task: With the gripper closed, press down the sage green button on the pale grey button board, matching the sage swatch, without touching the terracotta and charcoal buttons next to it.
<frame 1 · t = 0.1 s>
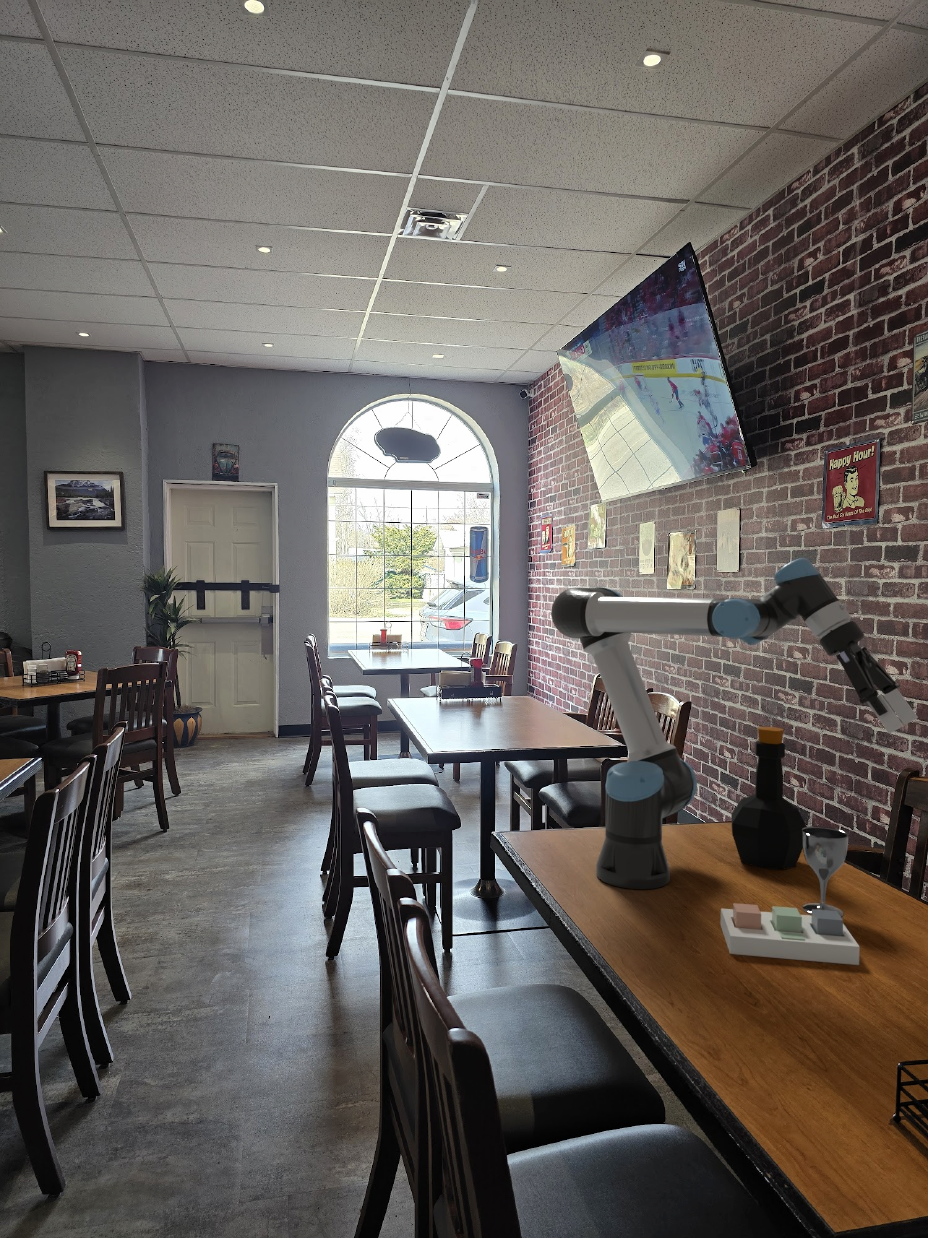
hand: (904, 725, 150), 36 cm above the table, tool tilted 35°, fingers open, 13 cm apart
sage button: (786, 920, 139), point 4 cm above the table, slide at 0.0 cm
bottle: (767, 862, 182), on the table
charcoal button: (826, 924, 138), point 4 cm above the table, slide at 0.0 cm
terracotta button: (746, 917, 140), point 4 cm above the table, slide at 0.0 cm
button board: (785, 944, 139), on the table
wine glass: (822, 911, 154), on the table
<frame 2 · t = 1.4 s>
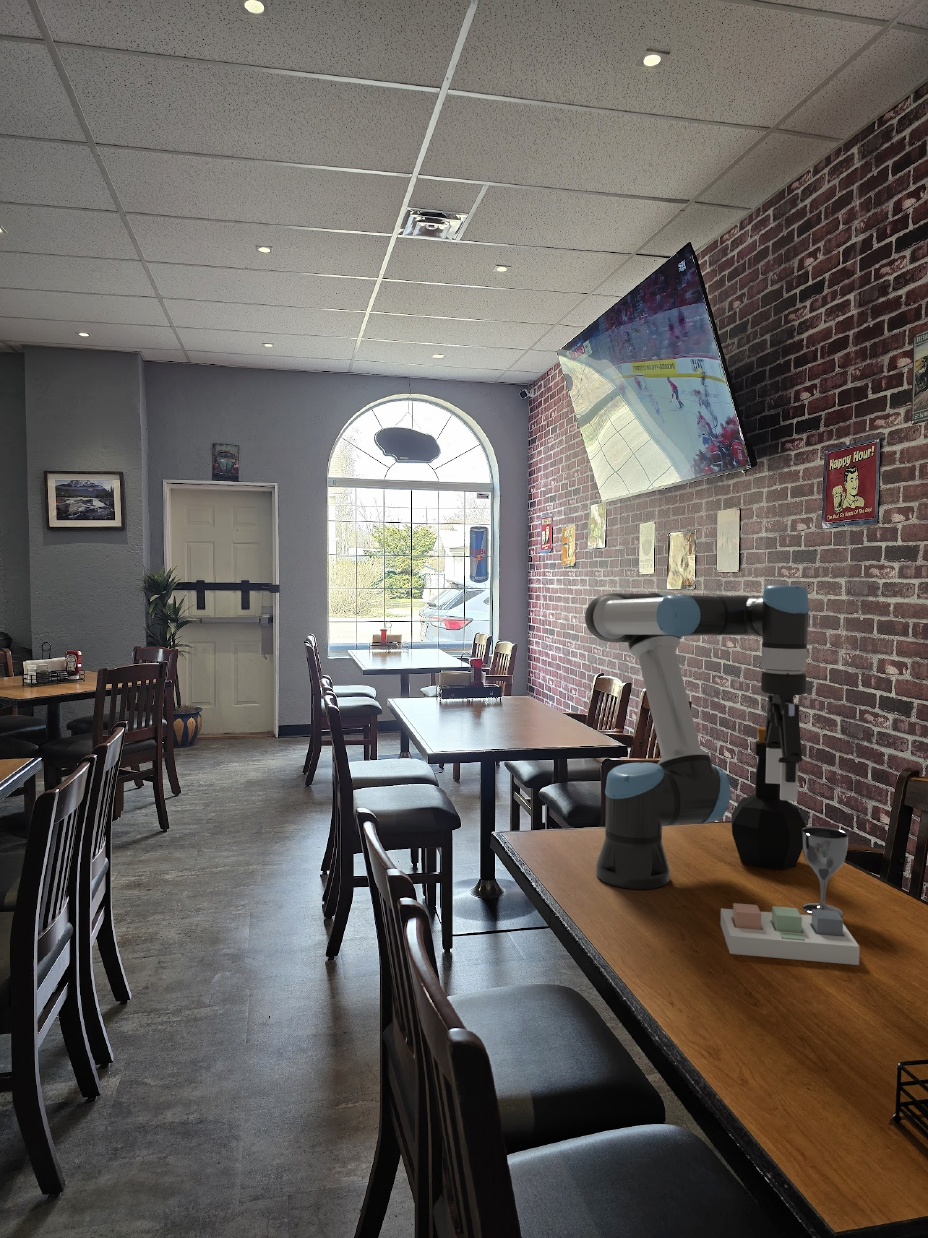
hand: (780, 791, 146), 24 cm above the table, tool pointing down, fingers open, 12 cm apart
nothing on the table moved.
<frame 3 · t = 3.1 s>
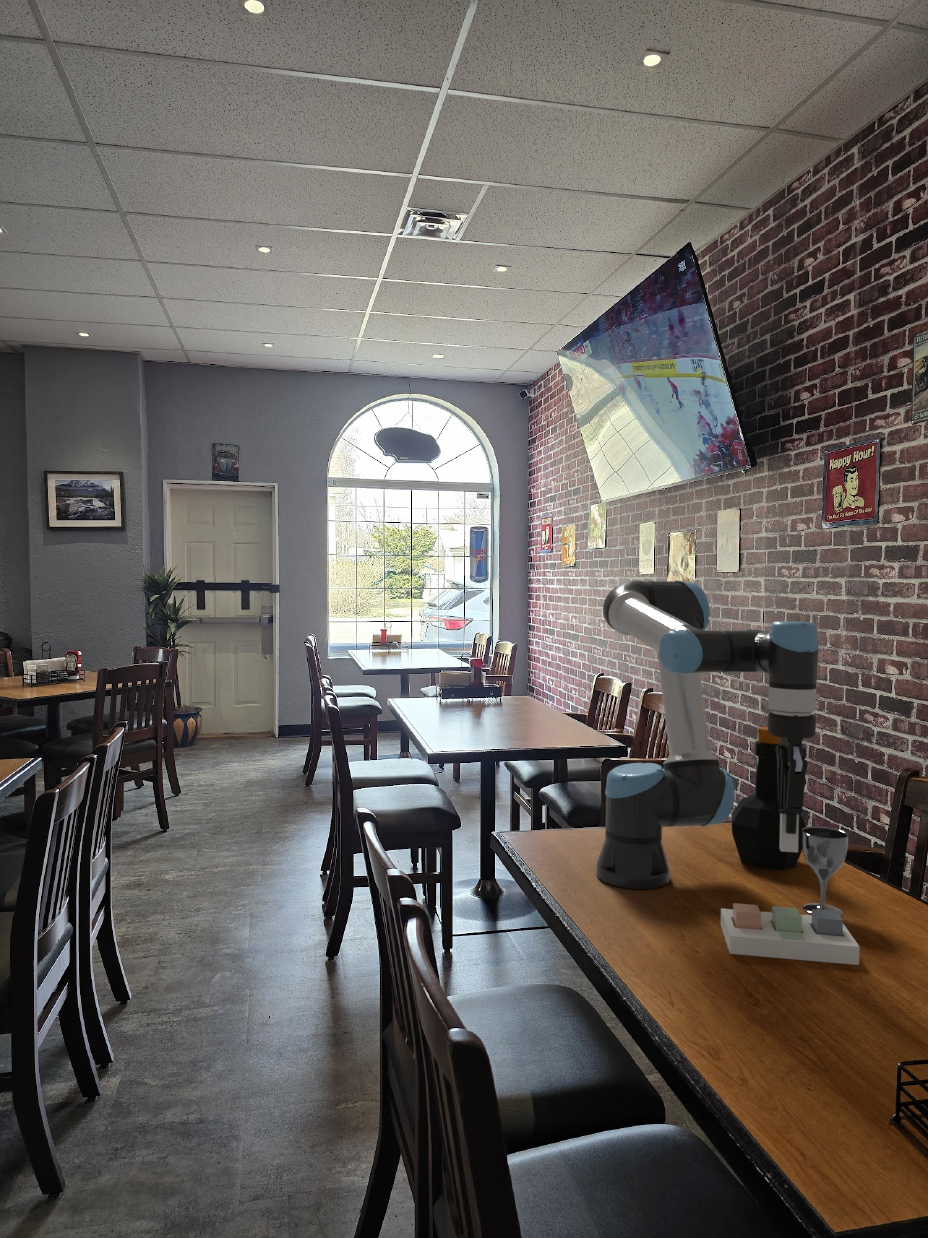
hand: (788, 850, 138), 16 cm above the table, tool pointing down, fingers closed
nothing on the table moved.
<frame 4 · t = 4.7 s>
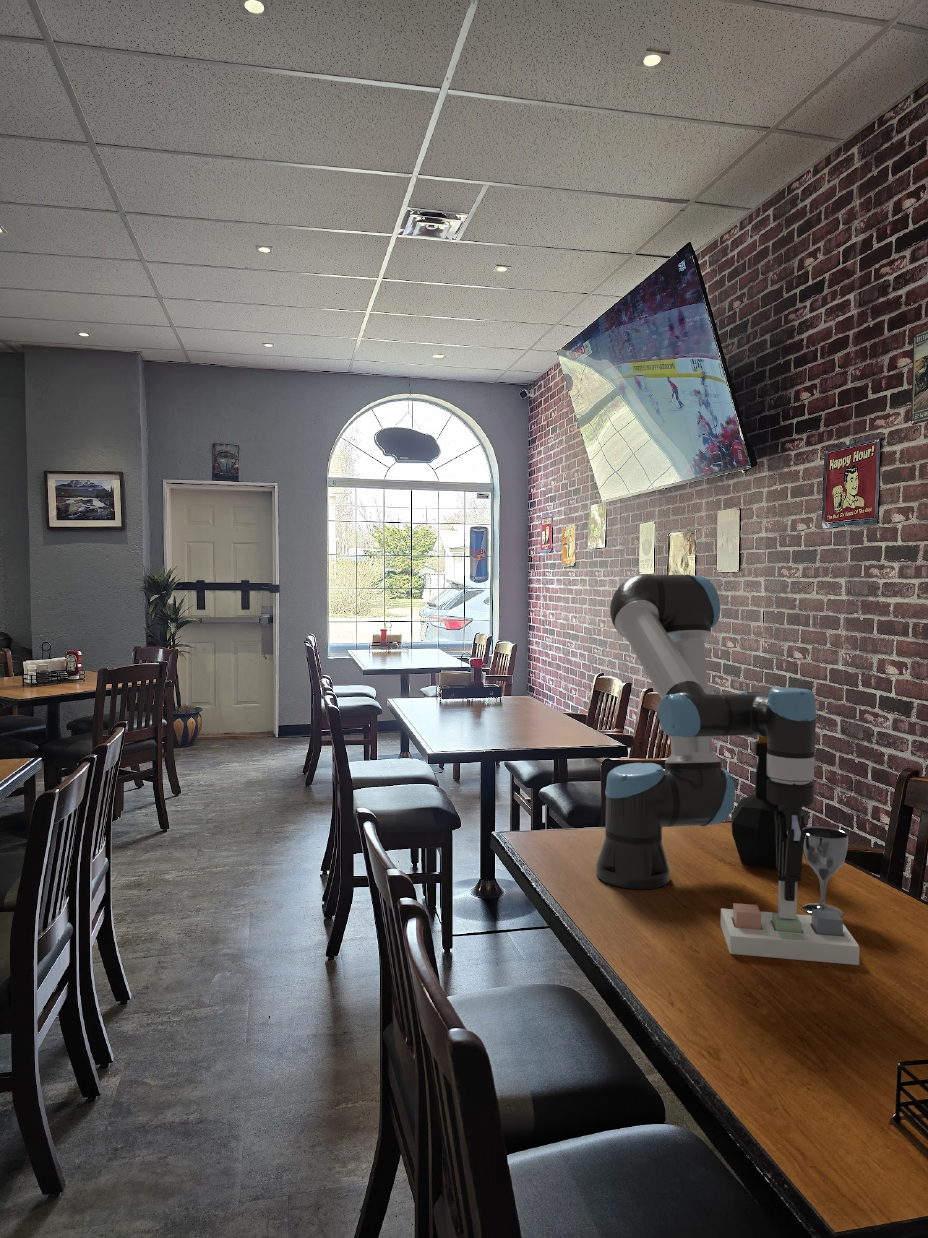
hand: (787, 917, 139), 5 cm above the table, tool pointing down, fingers closed
sage button: (786, 927, 139), point 3 cm above the table, slide at 1.1 cm, touching gripper
everything else where it was.
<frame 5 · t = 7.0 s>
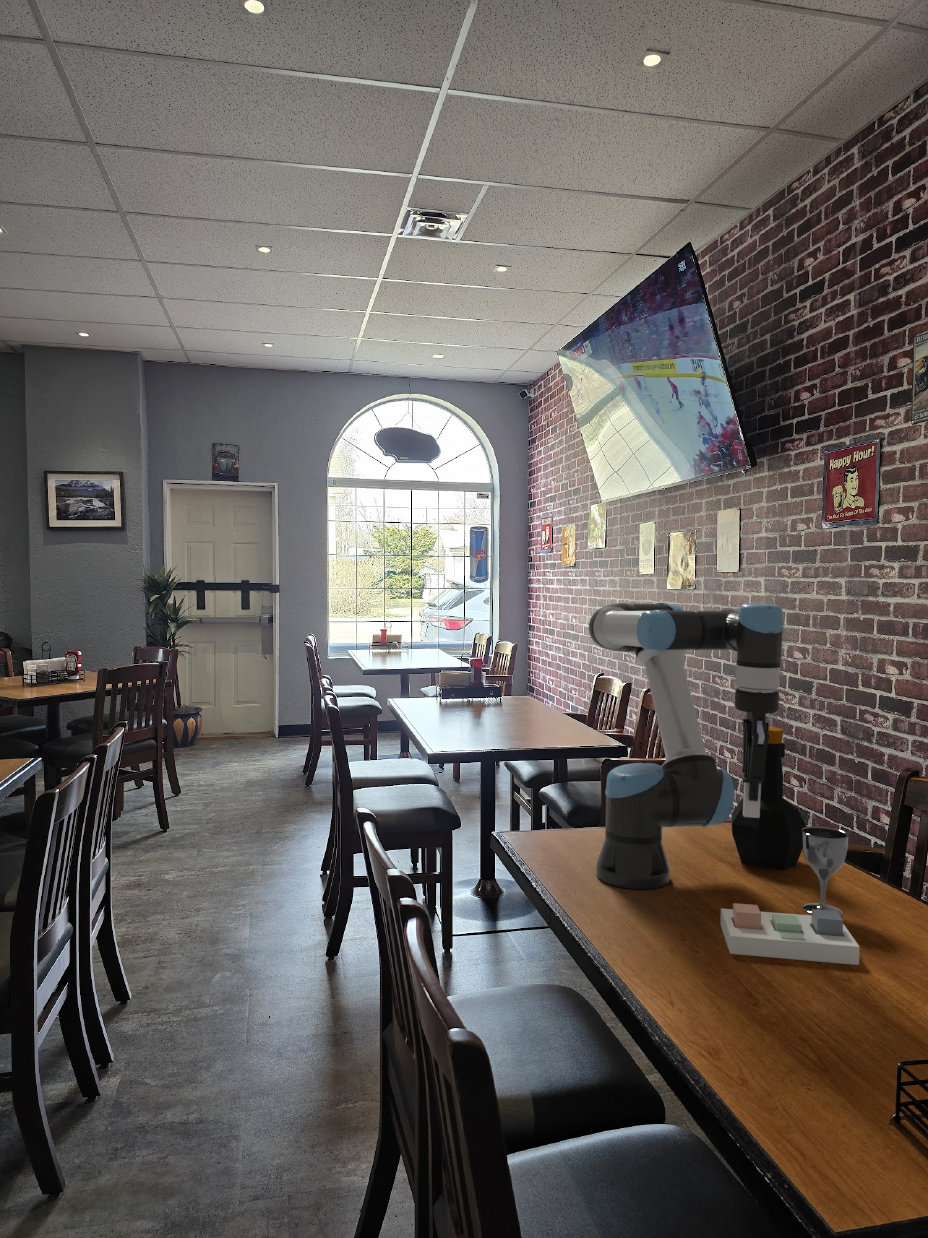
hand: (751, 816, 149), 19 cm above the table, tool pointing down, fingers closed
sage button: (786, 928, 139), point 3 cm above the table, slide at 1.4 cm
everything else where it was.
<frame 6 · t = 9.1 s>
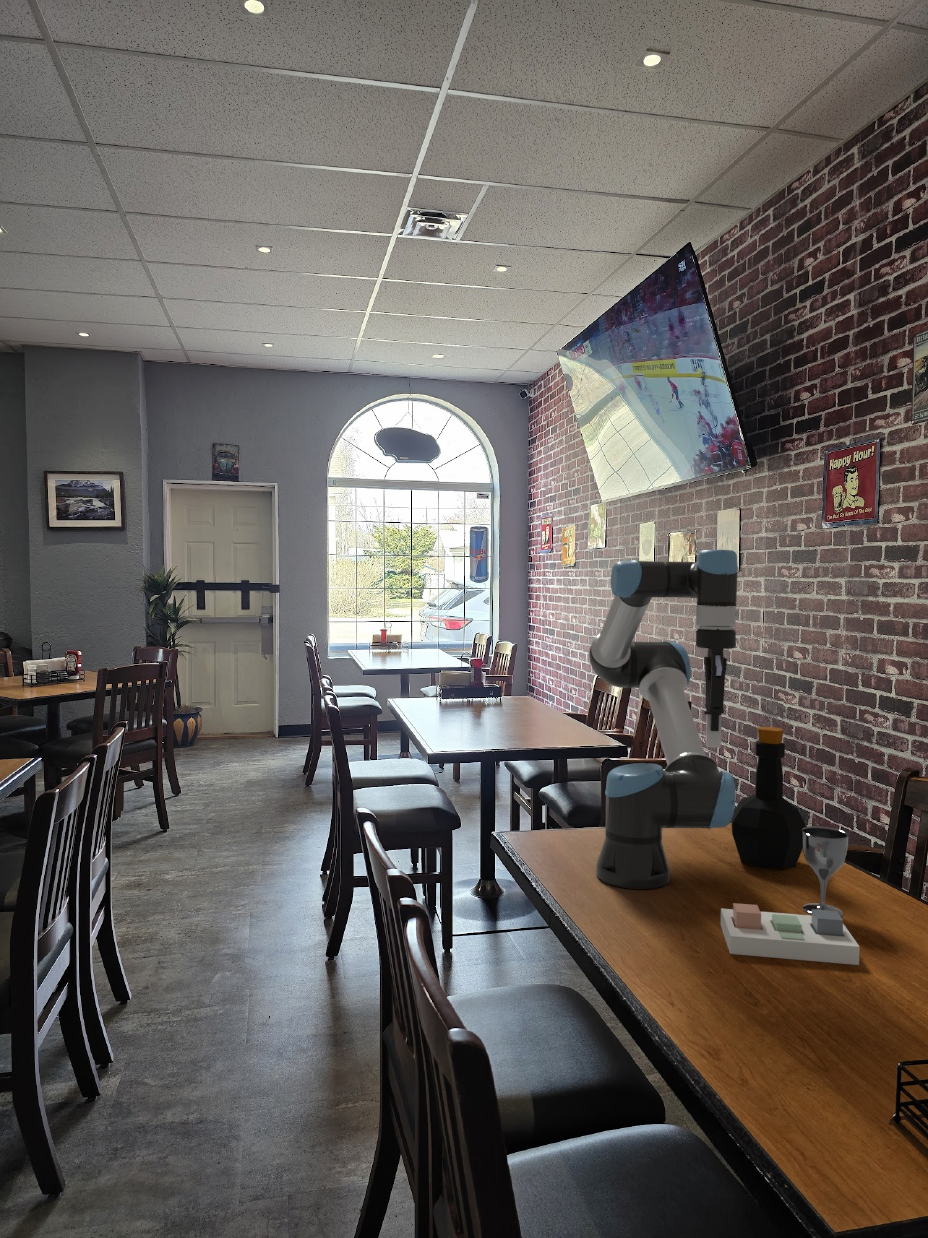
hand: (713, 746, 161), 29 cm above the table, tool pointing down, fingers closed
nothing on the table moved.
at the end: sage button slide at 1.4 cm; terracotta button slide at 0.0 cm; charcoal button slide at 0.0 cm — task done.
